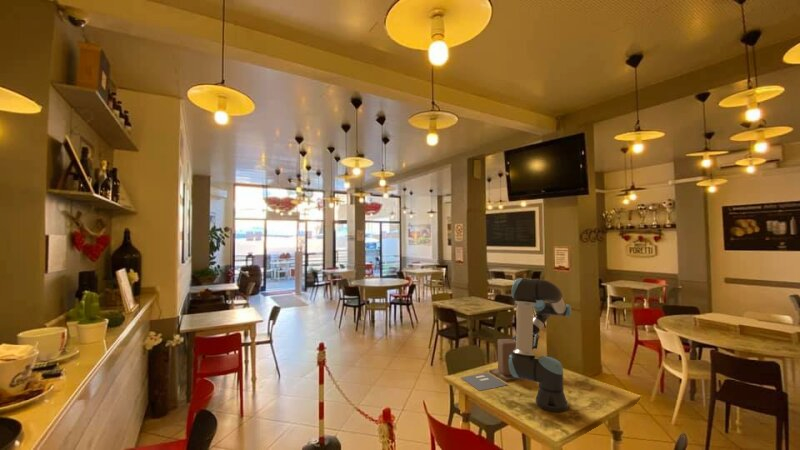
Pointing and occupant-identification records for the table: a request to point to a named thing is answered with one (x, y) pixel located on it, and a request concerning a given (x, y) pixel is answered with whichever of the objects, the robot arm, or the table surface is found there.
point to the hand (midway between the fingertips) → (517, 352)
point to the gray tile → (483, 381)
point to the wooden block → (505, 354)
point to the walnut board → (501, 376)
